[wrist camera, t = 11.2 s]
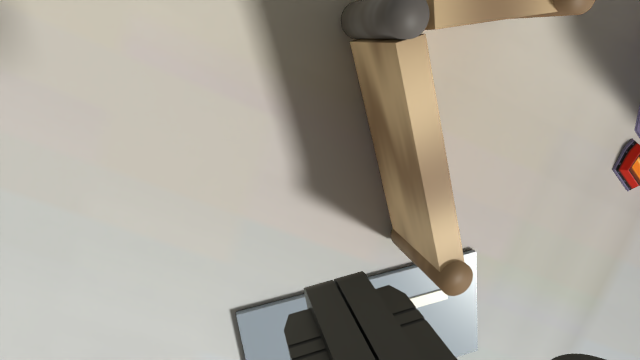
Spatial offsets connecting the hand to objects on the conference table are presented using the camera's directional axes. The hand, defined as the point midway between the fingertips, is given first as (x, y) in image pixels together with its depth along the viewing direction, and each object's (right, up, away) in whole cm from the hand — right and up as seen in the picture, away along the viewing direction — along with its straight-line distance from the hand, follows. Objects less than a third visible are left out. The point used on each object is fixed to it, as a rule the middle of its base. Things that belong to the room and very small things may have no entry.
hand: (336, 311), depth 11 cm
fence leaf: (+3, +5, +12) cm, 13 cm away
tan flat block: (+5, +11, +11) cm, 17 cm away
